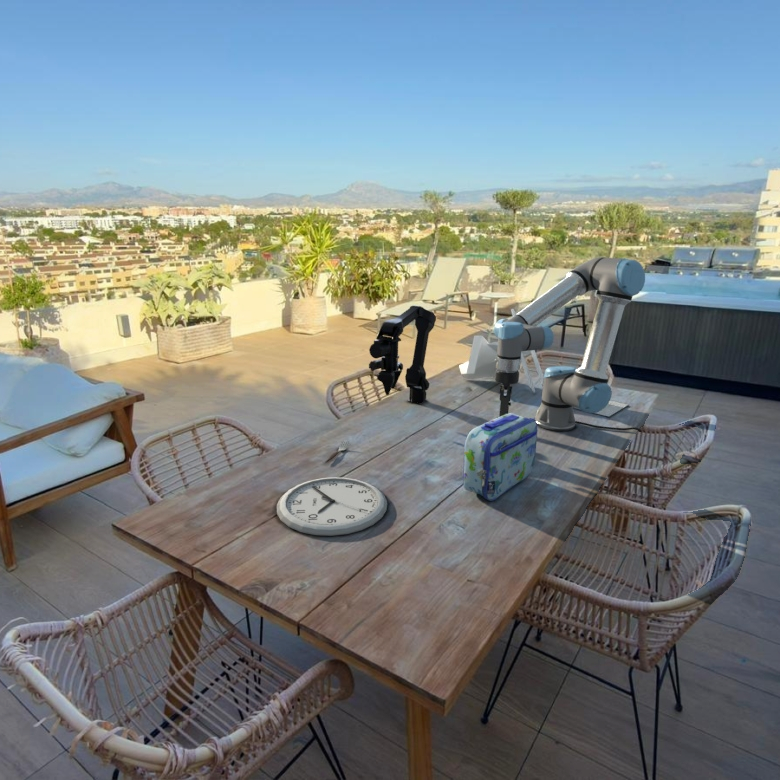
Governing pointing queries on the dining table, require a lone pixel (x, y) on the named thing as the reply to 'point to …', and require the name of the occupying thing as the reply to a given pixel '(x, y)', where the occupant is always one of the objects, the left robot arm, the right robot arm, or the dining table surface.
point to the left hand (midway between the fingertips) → (390, 391)
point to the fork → (338, 451)
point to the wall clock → (331, 506)
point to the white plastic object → (493, 361)
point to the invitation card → (611, 408)
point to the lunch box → (499, 455)
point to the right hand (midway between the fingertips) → (502, 430)
